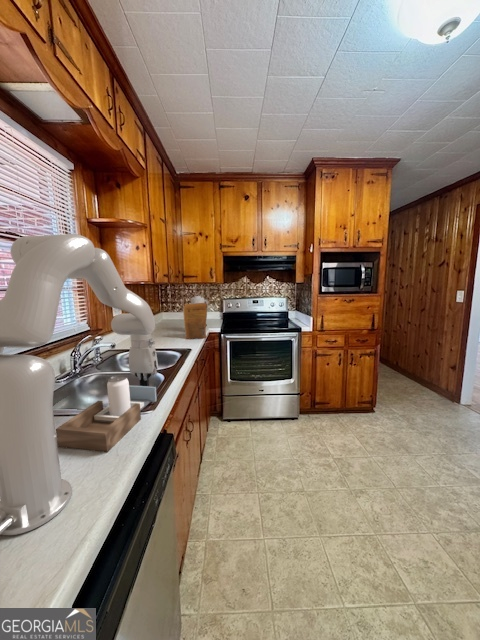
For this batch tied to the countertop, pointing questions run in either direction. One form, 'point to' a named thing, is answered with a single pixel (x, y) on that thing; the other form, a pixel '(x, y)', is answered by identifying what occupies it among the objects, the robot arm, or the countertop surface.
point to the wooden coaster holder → (96, 429)
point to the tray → (137, 395)
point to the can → (118, 395)
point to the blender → (198, 301)
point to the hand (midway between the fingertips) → (144, 388)
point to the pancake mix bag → (195, 320)
